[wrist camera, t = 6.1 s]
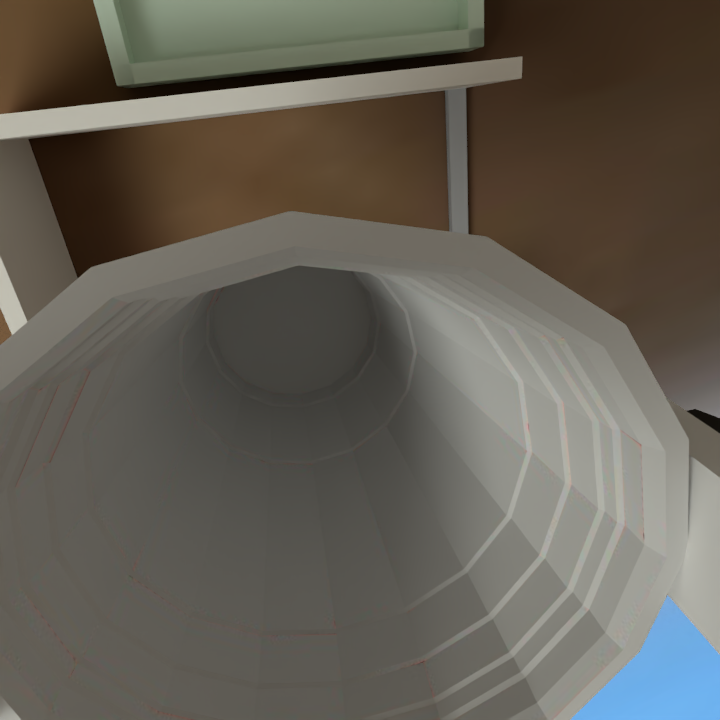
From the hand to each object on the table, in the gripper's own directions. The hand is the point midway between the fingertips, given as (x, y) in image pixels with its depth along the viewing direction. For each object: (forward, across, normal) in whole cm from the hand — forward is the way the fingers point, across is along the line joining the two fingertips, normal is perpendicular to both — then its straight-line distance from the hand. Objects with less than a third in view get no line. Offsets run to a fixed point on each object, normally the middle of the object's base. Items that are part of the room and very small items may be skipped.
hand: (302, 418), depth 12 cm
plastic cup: (+7, 0, 0) cm, 7 cm away
